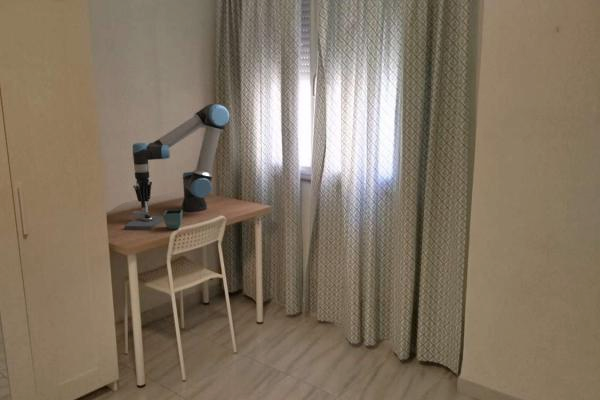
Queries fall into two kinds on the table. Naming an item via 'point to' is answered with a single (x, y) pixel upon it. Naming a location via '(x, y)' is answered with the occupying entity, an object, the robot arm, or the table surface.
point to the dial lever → (142, 215)
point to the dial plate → (143, 224)
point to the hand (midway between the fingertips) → (145, 212)
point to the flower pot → (173, 218)
